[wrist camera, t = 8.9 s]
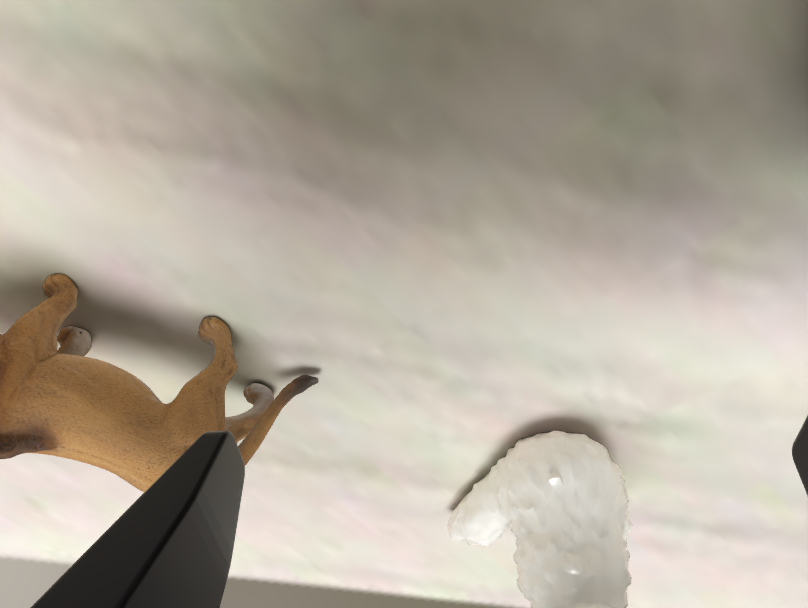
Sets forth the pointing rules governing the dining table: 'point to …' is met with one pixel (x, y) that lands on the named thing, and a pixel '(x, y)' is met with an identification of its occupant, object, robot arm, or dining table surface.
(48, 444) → the lion figurine
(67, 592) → the robot arm
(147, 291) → the dining table surface
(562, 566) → the white creature statuette
